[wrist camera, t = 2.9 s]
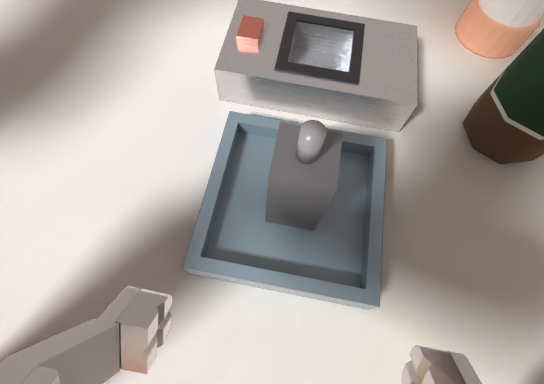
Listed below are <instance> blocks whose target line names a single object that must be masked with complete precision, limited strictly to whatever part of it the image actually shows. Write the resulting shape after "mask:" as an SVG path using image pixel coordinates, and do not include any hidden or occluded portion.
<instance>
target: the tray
mask: <svg viewBox="0 0 544 384" xmlns="http://www.w3.org/2000/svg"><path fill="white" fill-rule="evenodd" d="M280 122H285V123H291V124H296V125H302V124H299V123H293V122H288V121H282V120H277V119H271V118H266V117H260V116H254V115H249V114H243V113H238V112H232V111H230V112H229V115H228V118H227V122H226V125H225V128H224V132H223V135H222V138H221V142H220V145H219V148H218V152H217V155H216V158H215V161H214V165H213V168H212V171H211V175H210V178H209V181H208V185H207V188H206V191H205V195H204V198H203V201H202V205H201V208H200V211H199V215H198V218H197V221H196V225H195V228H194V231H193V234H192V238H191V241H190V244H189V248H188V251H187V254H186V258H185V261H184V264H183V269H185V270H186V271H187V272H188V273H189V274H193V275H198V276H203V277H209V278H214V279H219V280H224V281H229V282H234V283H239V284H244V285H249V286H254V287H259V288H264V289H269V290H274V291H279V292H284V293H289V294H294V295H299V296H304V297H309V298H314V299H319V300H324V301H329V302H334V303H339V304H344V305H349V306H354V307H359V308H364V309H372V308H377V307H380V287H381V263H382V240H383V216H384V193H385V170H386V146H387V139H383V138H377V137H372V136H366V135H361V134H355V133H349V132H344V131H338V130H333V129H327V128H326V130H330V131H336V132H341V133H343V138H342V147H341V156H340V165H339V174H338V183H337V190H336V192H335V194H334V196H333V198H332V199H331V201H330V203H329V205H328V207H327V208H326V210H325V212H324V214H323V216H322V217H321V219H320V221H319V223H318V225H317V226H316V228H315V230H314V231H311V230H306V229H300V228H295V227H290V226H285V225H279V224H274V223H269V222H265V216H266V201H267V186H268V176H269V171H270V166H271V162H272V157H273V152H274V148H275V143H276V138H277V134H278V129H279V124H280Z"/></svg>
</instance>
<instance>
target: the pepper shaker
mask: <svg viewBox="0 0 544 384" xmlns="http://www.w3.org/2000/svg"><path fill="white" fill-rule="evenodd" d="M543 15H544V0H471V2H470V4H469V5H468V7H467V8H466V10H465V11H464V13H463V14H462V16H461V17H460V19H459V21H458V23H457V25H456V34H457V36H458V38H459V40H460V41H461V42H462V44H463V45H464V46H465V47H467V48H468V49H470V50H471V51H473V52H474V53H477V54H479V55H482V56H485V57H490V58H504V57H507V56H510V55H512V54H513V53H514V52H515V51H516V50H517V49H518V48H519V47H520V46H521V45H522V43H523V42H524V41H525V40H526V39H527V38H528V37H529V36H530V35H531V34H532V33H533V31H534V30H535V29H536V28H537V27H538V26H539V24H540V21H541V18H542V16H543Z"/></svg>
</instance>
